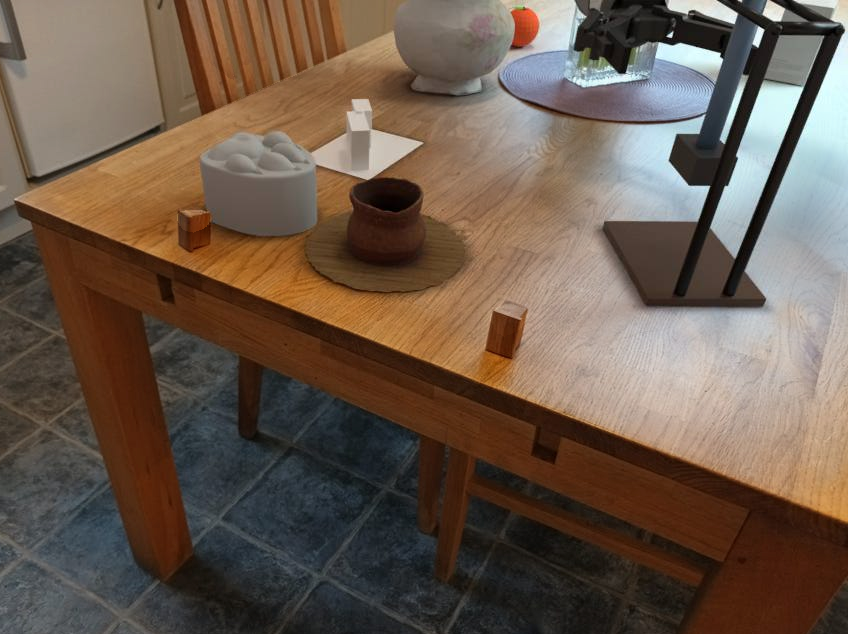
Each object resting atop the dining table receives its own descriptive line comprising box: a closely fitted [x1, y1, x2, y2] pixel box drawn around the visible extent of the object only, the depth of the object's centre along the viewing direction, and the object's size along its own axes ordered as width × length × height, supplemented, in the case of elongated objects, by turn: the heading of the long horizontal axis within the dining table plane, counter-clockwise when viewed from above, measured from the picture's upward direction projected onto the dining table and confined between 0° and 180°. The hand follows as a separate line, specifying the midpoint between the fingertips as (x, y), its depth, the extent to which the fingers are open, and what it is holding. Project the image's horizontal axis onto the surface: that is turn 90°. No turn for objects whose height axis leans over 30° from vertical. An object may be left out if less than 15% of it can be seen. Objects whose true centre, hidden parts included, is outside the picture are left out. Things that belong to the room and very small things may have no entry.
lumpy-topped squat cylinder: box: [199, 130, 318, 237], centre depth 83 cm, size 10×13×9 cm
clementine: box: [509, 6, 540, 48], centre depth 139 cm, size 8×7×7 cm
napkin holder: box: [310, 98, 424, 181], centre depth 98 cm, size 15×11×6 cm
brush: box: [668, 0, 768, 187], centre depth 68 cm, size 6×10×18 cm, turn 91°
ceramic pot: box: [304, 176, 467, 293], centre depth 77 cm, size 18×18×7 cm
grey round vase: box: [393, 0, 515, 96], centre depth 116 cm, size 22×20×25 cm
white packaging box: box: [764, 0, 839, 86], centre depth 125 cm, size 7×7×13 cm
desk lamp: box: [602, 0, 846, 308], centre depth 70 cm, size 17×12×26 cm
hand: (689, 61), depth 76 cm, fingers open, 13 cm apart
